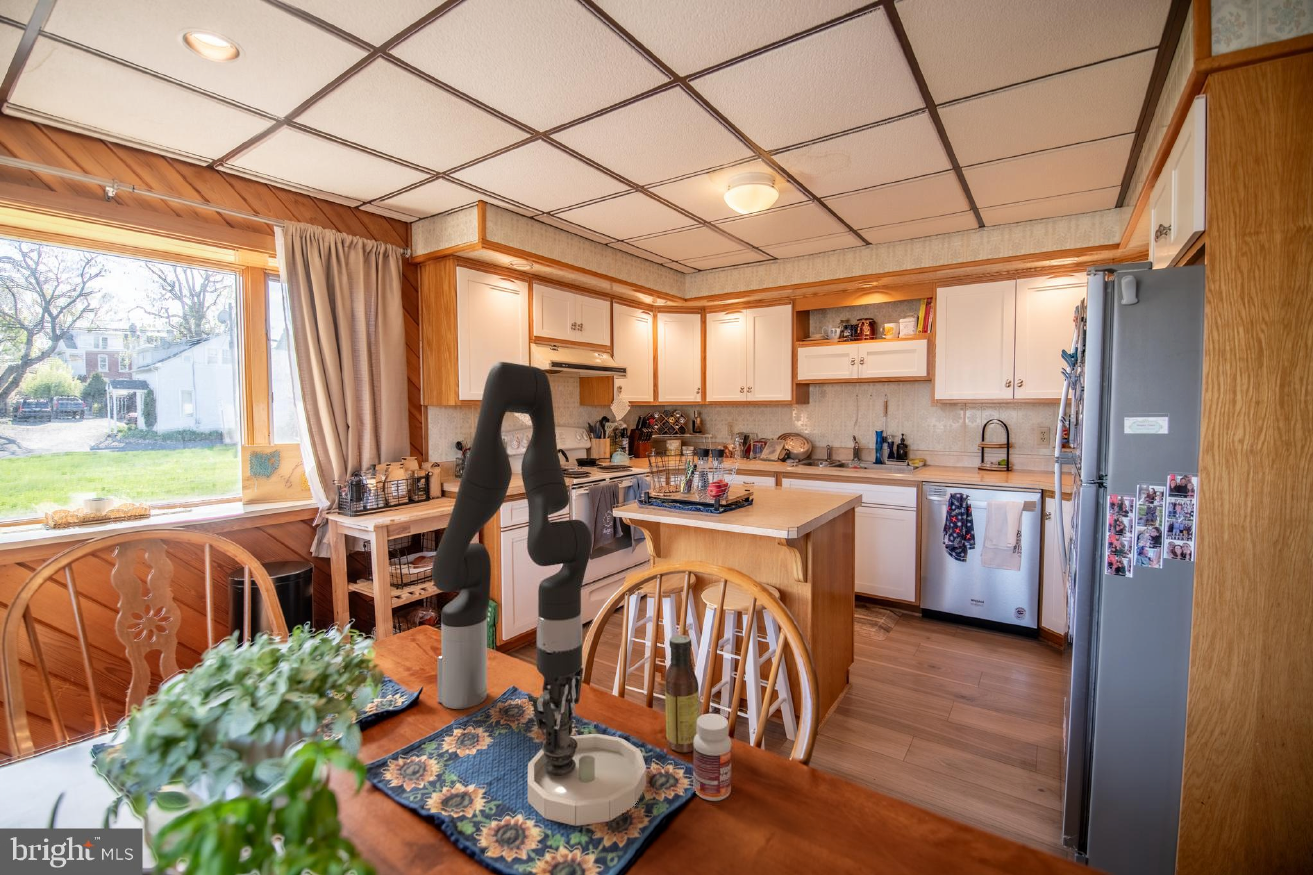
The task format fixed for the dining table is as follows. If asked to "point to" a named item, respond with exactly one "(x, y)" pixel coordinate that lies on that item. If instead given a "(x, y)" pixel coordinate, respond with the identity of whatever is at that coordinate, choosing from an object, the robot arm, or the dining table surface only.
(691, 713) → the sauce bottle
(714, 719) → the pill bottle
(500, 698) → the dining table surface
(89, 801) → the dining table surface
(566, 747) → the dark stone tower
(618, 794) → the tray
